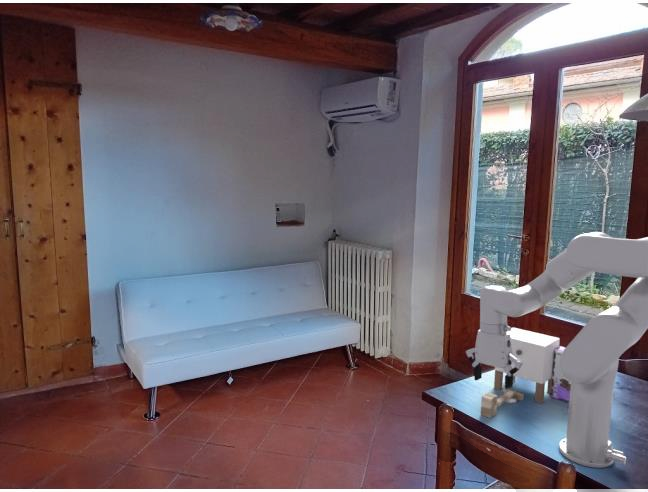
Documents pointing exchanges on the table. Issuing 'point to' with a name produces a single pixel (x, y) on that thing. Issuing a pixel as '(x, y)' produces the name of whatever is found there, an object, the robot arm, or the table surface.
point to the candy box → (560, 379)
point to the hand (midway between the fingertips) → (492, 383)
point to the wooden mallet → (496, 401)
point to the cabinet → (532, 359)
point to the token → (511, 400)
